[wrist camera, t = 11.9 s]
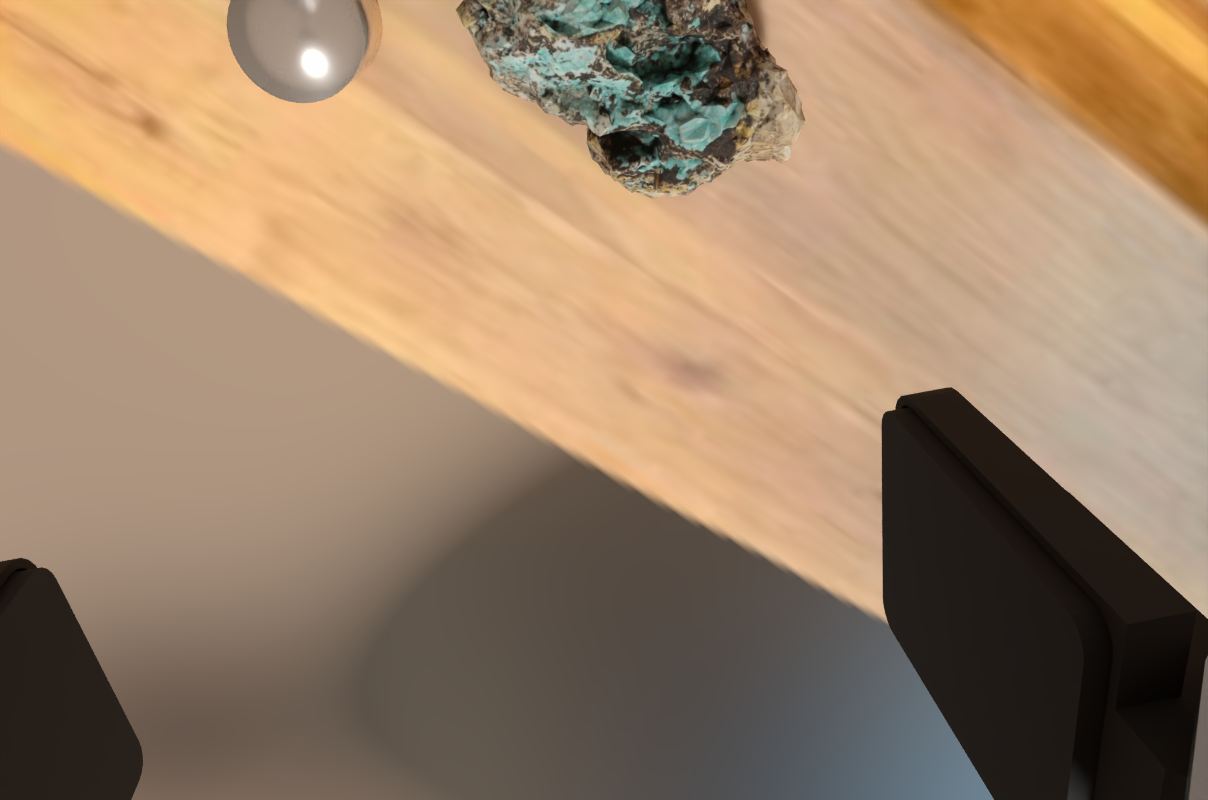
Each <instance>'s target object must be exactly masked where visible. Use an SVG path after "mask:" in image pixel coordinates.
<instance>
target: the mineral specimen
mask: <svg viewBox="0 0 1208 800" xmlns="http://www.w3.org/2000/svg"><path fill="white" fill-rule="evenodd" d="M456 11H457V13H458V15H459V17H460V19H461V21H462V23H463V25H464V27H465V28H467V29H468V30H469V31H470V33H471V36H472V38H473V40H474V42H475V44H476V46H477V48H478V51H479V52H480V54H481V56H482V58H483V60H484V62H485V63H486V65H487V66H488V67H489V69H490V76H491V78H492V79H493V80H494V81H495V82H496V83H497V84H498V85H499V86H500V87H501V88H502V89H503V90H504V91H506V92H508V93H511V94H513V95H515V96H517V97H520V98H522V99H524V100H526V101H531V102H536V103H537V104H538V105H539V106H540V107H541V108H542V110H543V111H544V112H545V113H548V114H552V115H556V116H559V117H560V118H562V119H563V120H564V121H566V122H567V123H569V124H570V125H571V126H573V125H576V124H582V125H587V126H588V128H587V144H588V147H589V151H590V154H591V157H592V159H593V160H594V161H596V162H597V163H598V164H599V165H600V167H601V168H602V170H603V171H604V173H605V174H608V175H611V177H612V178H613V179H614V181H619V182H620V184H621V185H622V186H624V187H625V188H626V189H628V190H629V191H630V192H632V193H633V192H636V193H639V194H641V195H644V196H646V197H649V198H651V199H655V198H657V197H660V196H662V195H665V194H667V195H668V196H670V197H674V196H680V195H689V194H690V193H691V192H692V191H694V190H695V189H696V188H697V187H698V186H699V185H701V184H704V183H707V182H712V180H713V179H715V178H716V177H718V176H719V175H721V174H722V173H723V172H725V171H726V170H728V169H729V168H731V167H732V166H733V165H735V164H736V163H738V162H740V161H742V160H745V161H747V162H748V161H753V160H757V161H767V160H770V159H774V160H776V161H778V162H780V163H783V162H785V161H786V160H788V159H789V158H790V153H791V145H792V144H793V143H794V142H795V140H796V139H797V138H798V136H799V135H800V134H801V131H802V128H803V125H804V122H805V119H804V115H803V112H802V109H801V105H802V103H801V100H800V98H799V95H798V92H797V90H796V88H795V87H794V85H793V83H792V82H791V80H790V78H789V77H788V72H787V70H785V69H783V68H782V67H780V66H778V65H776V61H775V58H774V57H773V56H772V55H771V54H770V53H769V51H768V49H767V48H766V49H765V48H764V47H763V45H762V44H761V42H760V40H759V38H758V36H757V33H756V31H755V29H754V22H753V20H752V17H751V15H750V13H749V11H748V9H747V5H746V0H463V2H462V3H461V4H460V5H459V7H458V8H457V9H456Z"/></svg>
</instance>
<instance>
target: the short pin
mask: <svg viewBox="0 0 1208 800" xmlns="http://www.w3.org/2000/svg"><path fill="white" fill-rule="evenodd" d="M227 31H228V38H229V42H230V46H231V49H232V51H233V54H234V56H235V58H236V60H237V62H238V64H239V65H240V67H241V68H242V70H243V71H244V72H245V74H246V75H247V76H248V77H249V78H250V79H251V80H252V81H253V82H254V83H255V84H256V85H257V86H259V87H260V88H261V89H263V90H264V91H266V92H267V93H269V94H271V95H273V96H275V97H277V98H280V99H283V100H286V101H290V102H296V103H311V102H317V101H322V100H324V99H327V98H330V97H332V96H333V95H335V94H337V93H338V92H339V91H341V90H342V89H343V88H344V87H345V86H347V85H348V84H349V83H350V82H351V81H352V80H353V79H354V78H355V77H356V76H357V75H358V74H359V73H360V72H361V71H362V70H363V69H364V68H365V67H366V66H367V65H368V64H369V63H370V62H371V61H372V59H373V58H374V57H375V55H376V53H377V51H378V48H379V46H380V42H381V38H382V18H381V12H380V9H379V6H378V3H377V1H376V0H231V2H230V5H229V9H228V15H227Z"/></svg>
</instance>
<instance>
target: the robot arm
mask: <svg viewBox="0 0 1208 800" xmlns="http://www.w3.org/2000/svg"><path fill="white" fill-rule="evenodd" d="M882 537H883V604H884V609H885V614H886V617H887V620H888V623H889V626H890V628H891V630H892V632H893V634H894V635H895V637H896V639H897V640H898V642H899V643H900V645H901V647H902V648H903V650H904V652H905V653H906V655H907V657H908V658H909V660H910V662H911V663H912V665H913V666H914V668H915V670H916V671H917V673H918V675H919V676H920V678H921V680H922V681H923V683H924V685H925V686H926V688H927V690H928V691H929V693H930V694H931V696H932V698H933V700H934V701H935V703H936V704H937V706H938V708H939V709H940V711H941V713H942V714H943V716H944V718H945V719H946V721H947V723H948V724H949V726H950V728H951V729H952V731H953V732H954V734H955V736H956V737H957V739H958V741H959V742H960V744H961V746H962V747H963V749H964V750H965V752H966V754H967V756H968V757H969V759H970V760H971V762H972V764H973V765H974V767H975V769H976V770H977V772H978V774H979V775H980V777H981V778H982V780H983V782H984V784H985V785H986V787H987V789H988V790H989V792H990V793H991V795H992V797H993V798H994V800H1208V619H1207V618H1206V617H1205V616H1204V615H1203V614H1202V613H1201V612H1199V611H1198V610H1197V609H1196V608H1195V607H1194V606H1193V605H1192V604H1191V603H1190V602H1188V601H1187V600H1186V599H1185V598H1184V597H1183V596H1182V595H1181V594H1180V593H1179V592H1178V591H1176V590H1175V589H1174V588H1173V587H1172V586H1171V585H1170V584H1169V583H1168V582H1167V581H1165V580H1164V579H1163V578H1162V577H1161V576H1160V575H1159V574H1158V573H1157V572H1156V571H1155V570H1153V569H1152V568H1151V567H1150V566H1149V565H1148V564H1147V563H1146V562H1145V561H1144V560H1143V559H1141V558H1140V557H1139V556H1138V555H1137V554H1136V553H1135V552H1134V551H1133V550H1132V549H1130V548H1129V547H1128V546H1127V545H1126V544H1125V543H1124V542H1123V541H1122V540H1121V539H1120V538H1118V537H1117V536H1116V535H1115V534H1114V533H1113V532H1112V531H1111V530H1110V529H1109V528H1107V527H1106V526H1105V525H1104V524H1103V523H1102V522H1101V521H1100V520H1099V519H1098V518H1097V517H1095V516H1094V515H1093V514H1092V513H1091V512H1090V511H1089V510H1088V509H1087V508H1086V507H1084V506H1083V505H1082V504H1081V503H1080V502H1079V501H1078V500H1077V499H1076V498H1075V497H1074V496H1072V495H1071V494H1070V493H1069V492H1067V491H1066V490H1065V489H1064V488H1063V487H1061V486H1060V485H1059V484H1058V483H1057V482H1056V481H1055V480H1054V479H1053V478H1052V477H1051V476H1049V475H1048V474H1047V473H1046V472H1045V471H1044V470H1043V469H1042V468H1041V467H1040V466H1039V465H1037V464H1036V463H1035V462H1034V461H1033V460H1032V459H1031V458H1030V457H1029V456H1028V455H1026V454H1025V453H1024V452H1023V451H1022V450H1021V449H1020V448H1019V447H1018V446H1017V445H1016V444H1014V443H1013V442H1012V441H1011V440H1010V439H1009V438H1008V437H1007V436H1006V435H1005V434H1004V433H1002V432H1001V431H1000V430H999V429H998V428H997V427H996V426H995V425H994V424H993V423H992V422H990V421H989V420H988V419H987V418H986V417H985V416H984V415H983V414H982V413H981V412H980V411H978V410H977V409H976V408H975V407H974V406H973V405H972V404H971V403H970V402H969V401H967V400H966V399H965V398H964V397H963V396H962V395H961V394H960V393H959V392H958V391H956V390H955V389H953V388H943V389H937V390H932V391H926V392H921V393H916V394H910V395H905V396H901V397H900V398H899V399H898V401H897V404H896V409H895V410H893V411H887V412H885V413H884V415H883V418H882ZM142 766H143V757H142V750H141V746H140V743H139V740H138V739H137V737H136V735H135V733H134V731H133V729H132V727H131V725H130V723H129V721H128V719H127V717H126V715H125V713H124V711H123V709H122V707H121V705H120V703H119V701H118V699H117V697H116V695H115V693H114V692H113V689H112V687H111V686H110V684H109V682H108V680H107V678H106V676H105V674H104V672H103V670H102V668H101V666H100V664H99V662H98V660H97V658H96V656H95V655H94V652H93V650H92V648H91V646H90V644H89V642H88V641H87V638H86V636H85V635H84V633H83V631H82V629H81V627H80V625H79V623H78V621H77V619H76V617H75V615H74V613H73V611H72V609H71V608H70V605H69V603H68V601H67V599H66V597H65V595H64V593H63V591H62V590H61V588H60V586H59V584H58V582H57V580H56V578H55V577H54V575H53V574H52V572H50V571H49V570H48V569H46V568H37V567H36V565H34V564H33V563H32V562H31V561H29V560H27V559H23V558H18V559H13V560H7V561H2V562H0V800H131V799H132V796H133V794H134V792H135V789H136V787H137V784H138V782H139V780H140V776H141V773H142Z"/></svg>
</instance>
